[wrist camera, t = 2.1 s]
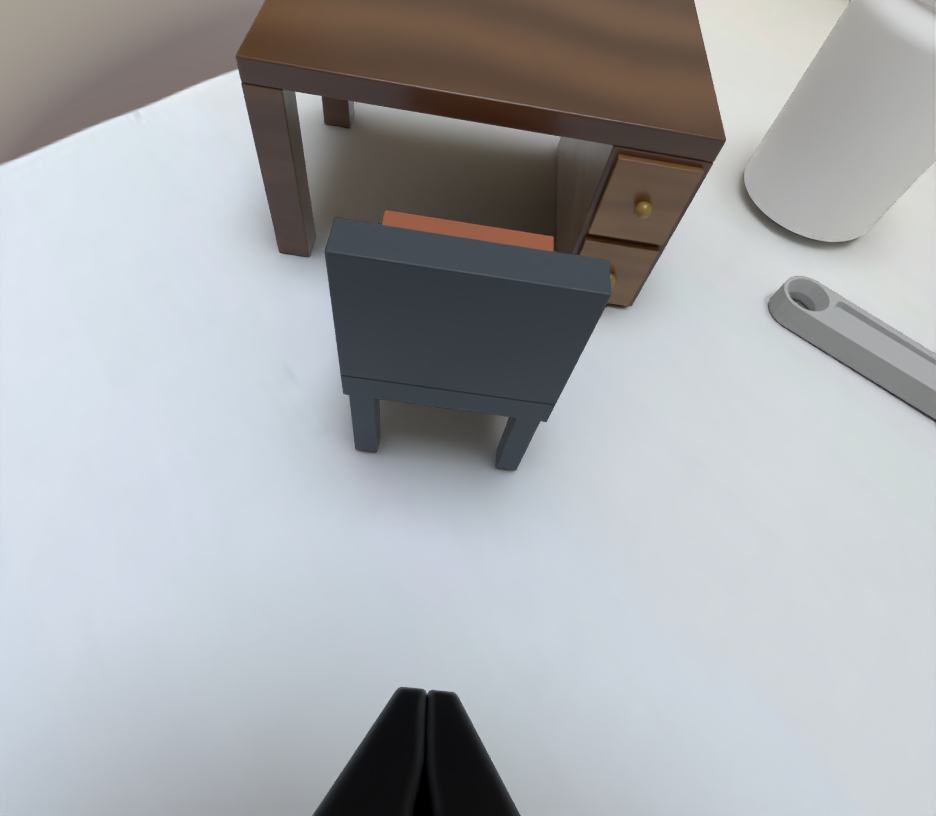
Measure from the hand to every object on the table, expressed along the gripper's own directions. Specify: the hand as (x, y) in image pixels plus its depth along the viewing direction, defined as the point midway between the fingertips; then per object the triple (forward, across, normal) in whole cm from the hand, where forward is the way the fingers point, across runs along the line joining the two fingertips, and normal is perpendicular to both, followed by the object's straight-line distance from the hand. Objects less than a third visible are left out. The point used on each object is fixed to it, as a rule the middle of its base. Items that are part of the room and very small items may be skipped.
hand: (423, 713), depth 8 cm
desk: (+27, 0, -9) cm, 28 cm away
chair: (+18, 0, 0) cm, 18 cm away
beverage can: (+30, -20, -12) cm, 39 cm away
